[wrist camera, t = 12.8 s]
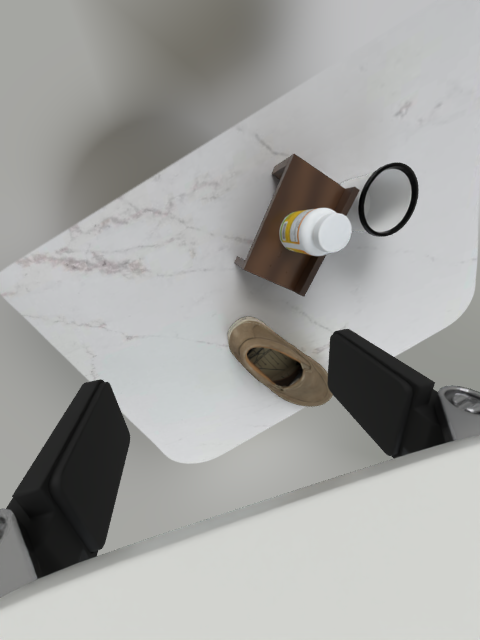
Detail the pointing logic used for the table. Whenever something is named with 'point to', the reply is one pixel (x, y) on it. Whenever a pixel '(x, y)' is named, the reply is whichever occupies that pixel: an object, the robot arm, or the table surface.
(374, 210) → the mug
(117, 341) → the table surface
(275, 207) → the shelf
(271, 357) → the slip on shoe
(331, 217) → the supplement bottle
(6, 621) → the robot arm
